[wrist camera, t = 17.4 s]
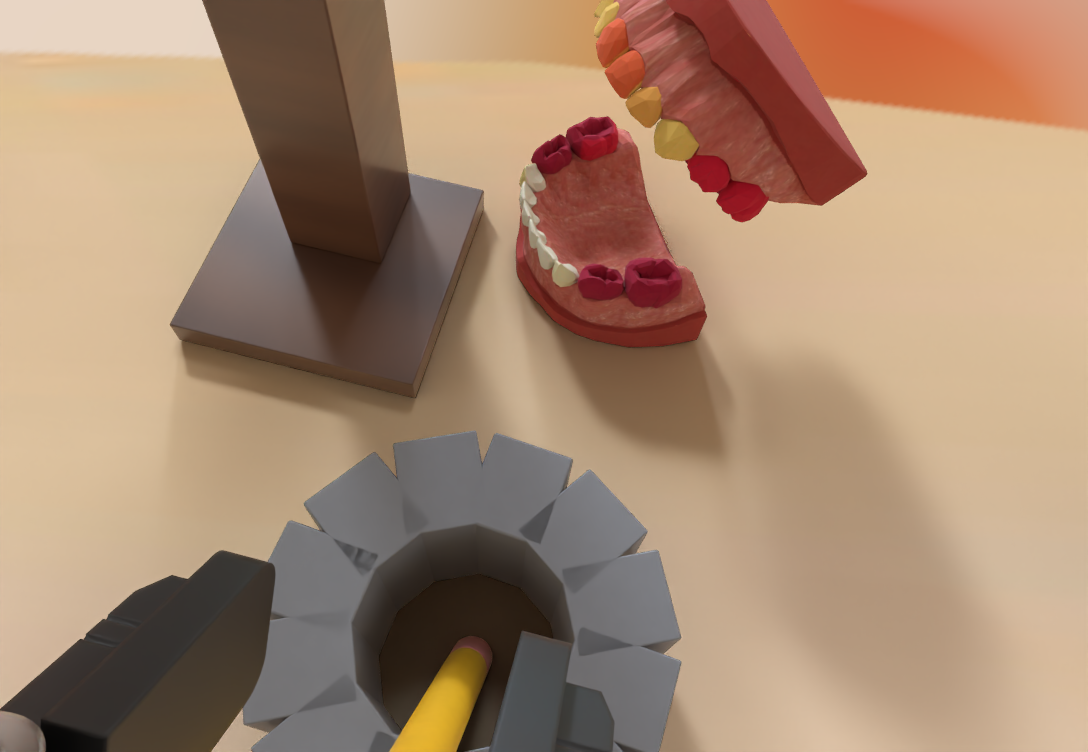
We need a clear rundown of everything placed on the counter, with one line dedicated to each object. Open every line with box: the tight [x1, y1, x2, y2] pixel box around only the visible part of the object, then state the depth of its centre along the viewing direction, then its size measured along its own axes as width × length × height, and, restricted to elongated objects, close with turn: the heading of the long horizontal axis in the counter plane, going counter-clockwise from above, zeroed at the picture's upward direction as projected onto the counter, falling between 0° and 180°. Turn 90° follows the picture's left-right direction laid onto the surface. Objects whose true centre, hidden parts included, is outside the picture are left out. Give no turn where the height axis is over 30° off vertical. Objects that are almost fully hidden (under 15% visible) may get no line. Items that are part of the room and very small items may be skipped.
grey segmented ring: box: [243, 431, 681, 752], centre depth 25 cm, size 12×12×6 cm
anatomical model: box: [516, 0, 867, 347], centre depth 31 cm, size 10×8×15 cm
